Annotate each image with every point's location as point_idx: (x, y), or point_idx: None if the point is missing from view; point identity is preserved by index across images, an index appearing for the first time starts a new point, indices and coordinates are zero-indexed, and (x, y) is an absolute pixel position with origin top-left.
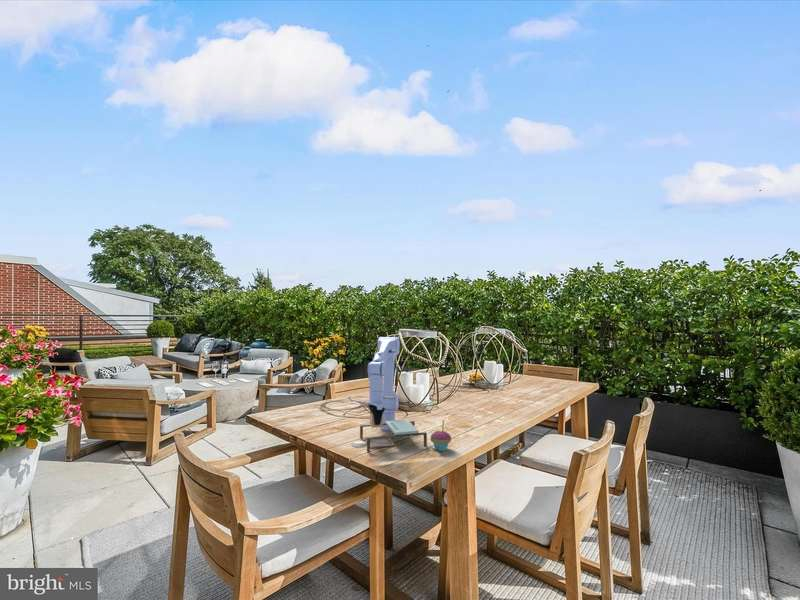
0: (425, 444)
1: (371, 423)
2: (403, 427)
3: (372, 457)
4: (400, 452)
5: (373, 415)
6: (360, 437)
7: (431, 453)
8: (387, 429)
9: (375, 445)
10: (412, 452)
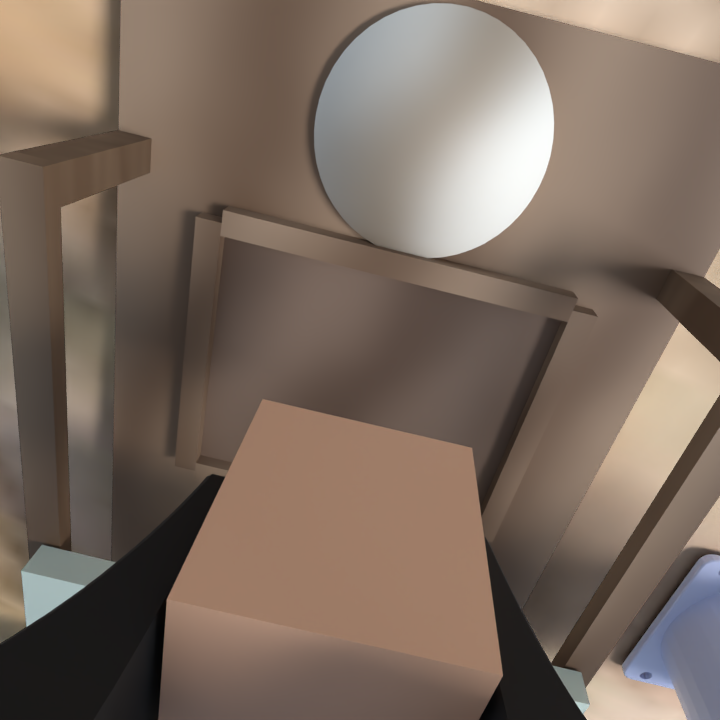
0: None
1: (296, 452)
2: None
3: (25, 144)
4: (97, 449)
5: (100, 621)
6: (676, 273)
7: (17, 605)
8: (690, 631)
9: (291, 315)
10: (70, 521)
